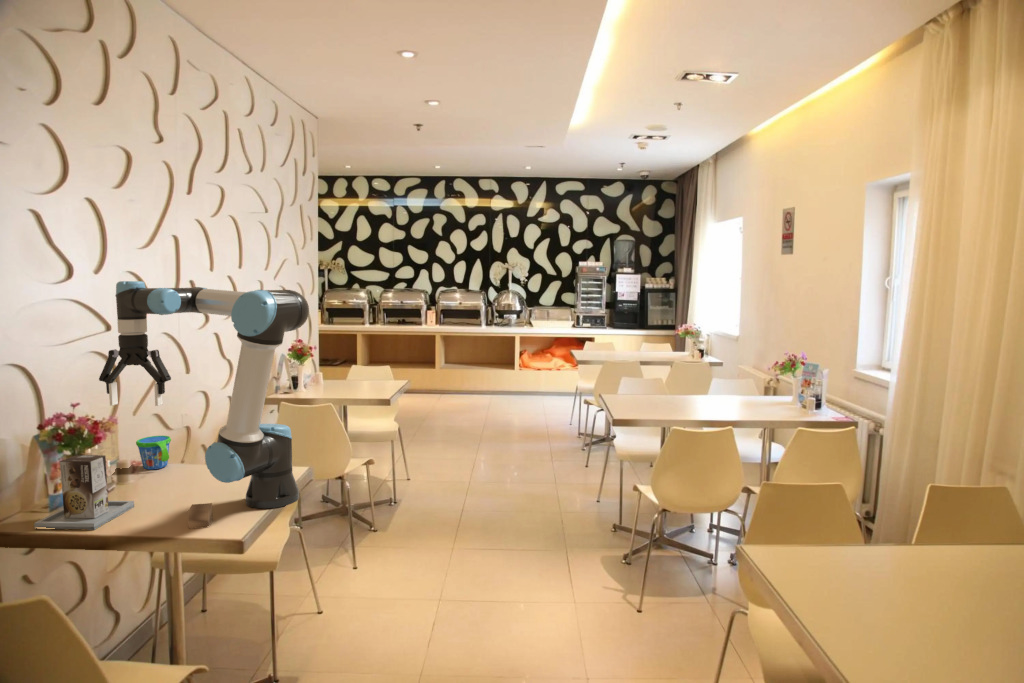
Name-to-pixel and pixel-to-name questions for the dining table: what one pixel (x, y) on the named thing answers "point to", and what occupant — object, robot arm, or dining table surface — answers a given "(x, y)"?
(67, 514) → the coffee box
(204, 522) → the walnut block
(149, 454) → the snack cup
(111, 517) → the tray
